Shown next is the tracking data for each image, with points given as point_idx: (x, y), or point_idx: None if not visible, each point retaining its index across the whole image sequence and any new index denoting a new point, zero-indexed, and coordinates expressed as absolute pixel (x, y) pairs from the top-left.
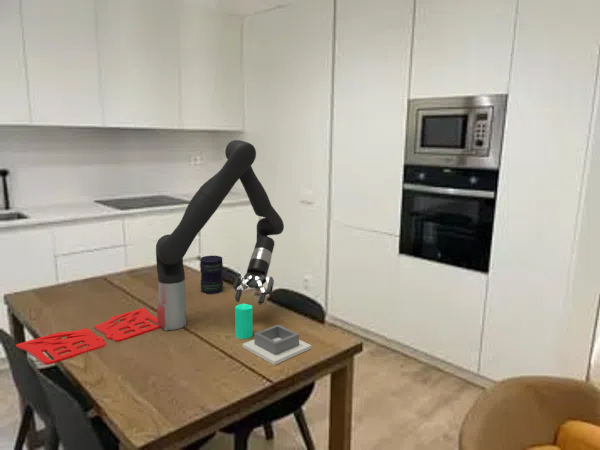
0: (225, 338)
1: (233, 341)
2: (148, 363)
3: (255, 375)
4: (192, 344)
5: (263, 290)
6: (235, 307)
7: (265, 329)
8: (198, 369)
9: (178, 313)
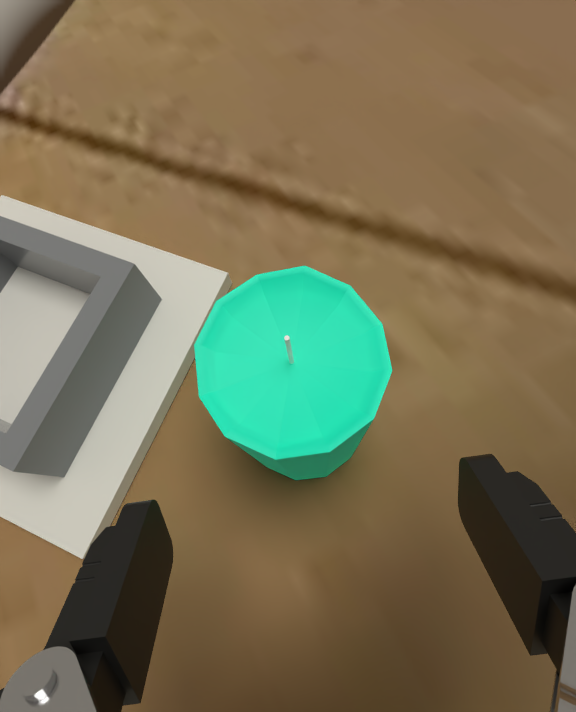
0: None
1: None
2: (527, 8)
3: (68, 117)
4: (499, 196)
5: (26, 691)
6: (372, 315)
7: (82, 346)
8: (306, 58)
9: None
